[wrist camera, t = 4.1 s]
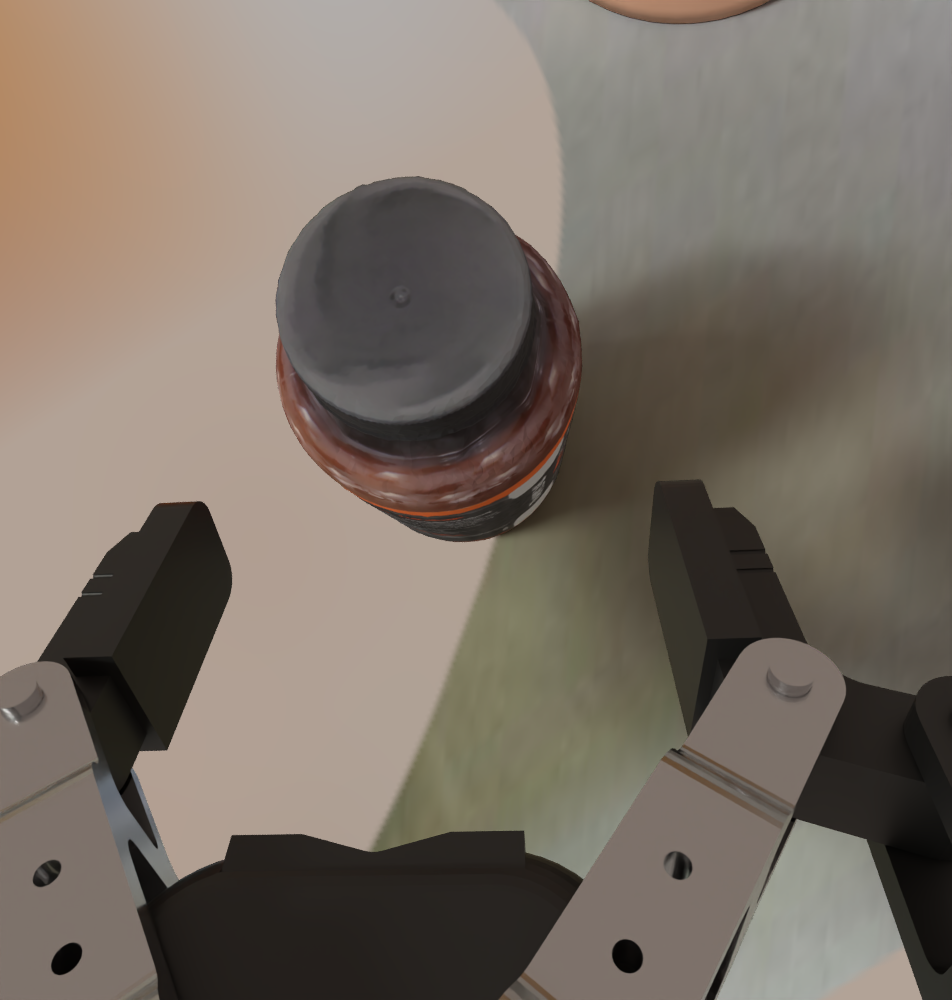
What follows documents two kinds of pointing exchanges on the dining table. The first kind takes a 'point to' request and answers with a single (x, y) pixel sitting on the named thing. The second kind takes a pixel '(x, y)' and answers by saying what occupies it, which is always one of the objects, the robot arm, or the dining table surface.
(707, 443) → the dining table surface
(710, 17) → the coaster dish
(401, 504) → the supplement bottle
